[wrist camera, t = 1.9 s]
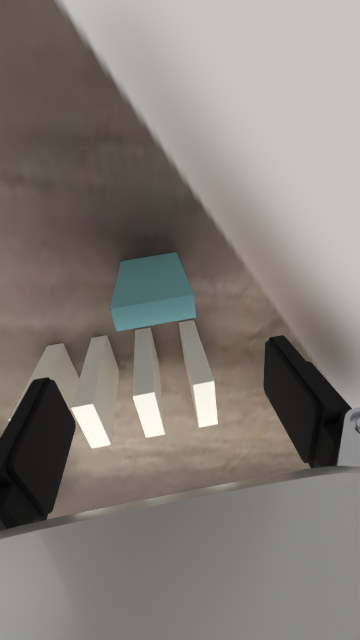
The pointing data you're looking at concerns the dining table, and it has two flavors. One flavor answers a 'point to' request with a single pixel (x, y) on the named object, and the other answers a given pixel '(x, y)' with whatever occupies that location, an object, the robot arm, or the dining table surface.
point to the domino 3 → (151, 292)
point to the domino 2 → (97, 393)
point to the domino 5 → (198, 375)
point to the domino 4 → (147, 384)
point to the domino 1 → (55, 373)
